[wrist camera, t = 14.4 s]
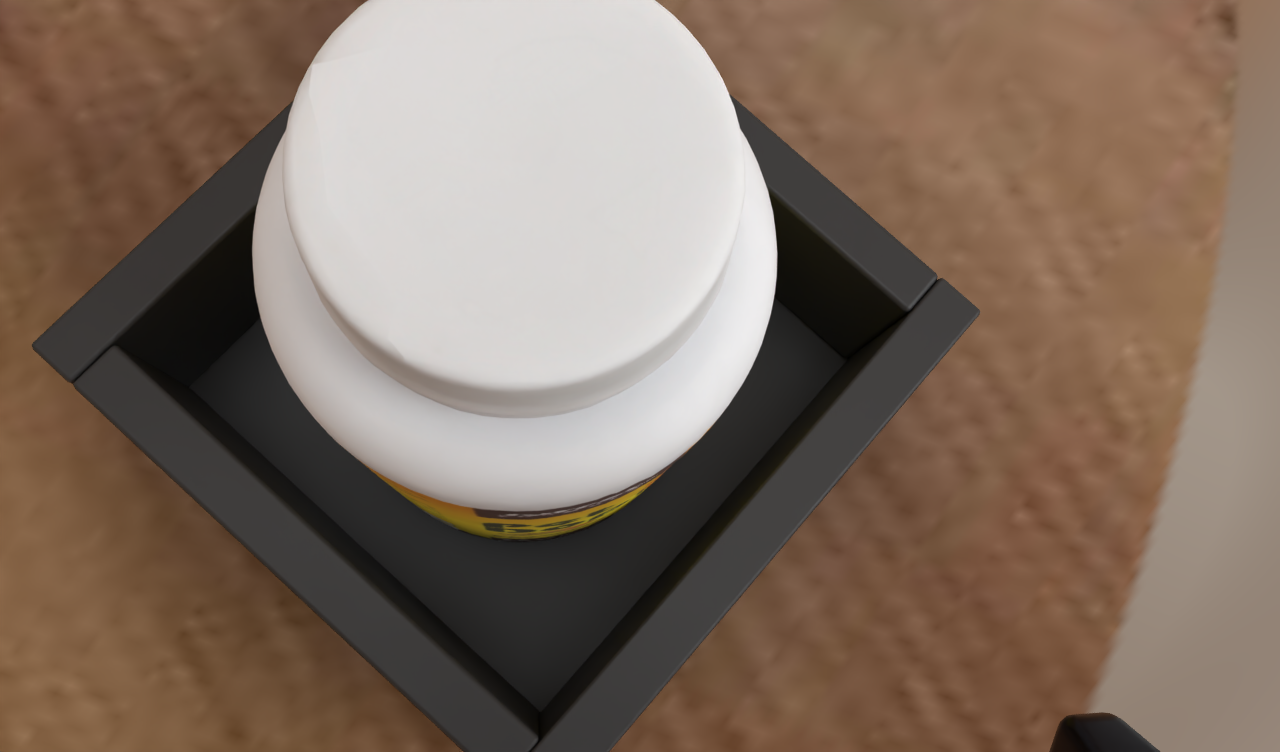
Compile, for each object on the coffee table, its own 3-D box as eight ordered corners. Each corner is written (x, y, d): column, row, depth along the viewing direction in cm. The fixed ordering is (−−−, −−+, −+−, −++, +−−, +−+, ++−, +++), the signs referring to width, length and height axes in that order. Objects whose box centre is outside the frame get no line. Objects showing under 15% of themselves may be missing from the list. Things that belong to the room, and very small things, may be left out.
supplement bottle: (480, 611, 19) (412, 632, 9) (299, 339, 19) (41, 63, 9) (748, 425, 20) (967, 250, 10) (569, 171, 20) (600, -242, 10)
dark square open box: (898, 364, 21) (982, 310, 17) (543, 779, 19) (545, 828, 15) (513, 26, 21) (508, -102, 17) (130, 395, 19) (26, 344, 15)
